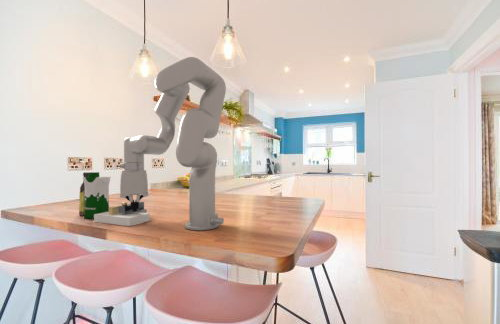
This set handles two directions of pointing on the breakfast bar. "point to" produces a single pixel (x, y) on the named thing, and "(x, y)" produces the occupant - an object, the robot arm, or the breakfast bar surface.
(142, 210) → the jamb post
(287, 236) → the breakfast bar surface
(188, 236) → the breakfast bar surface
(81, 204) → the sauce bottle
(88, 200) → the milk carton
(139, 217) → the grey base with block
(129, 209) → the latch arm
